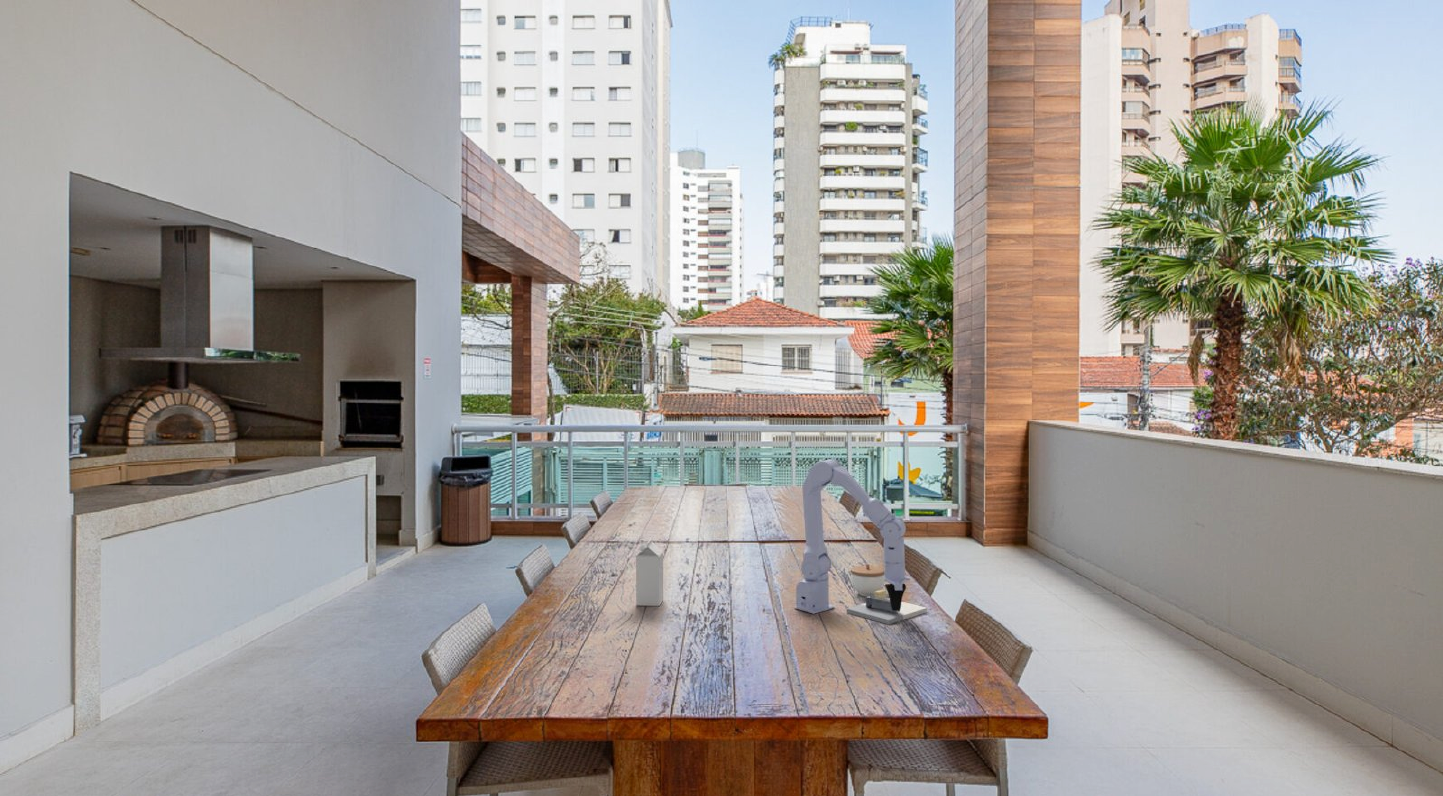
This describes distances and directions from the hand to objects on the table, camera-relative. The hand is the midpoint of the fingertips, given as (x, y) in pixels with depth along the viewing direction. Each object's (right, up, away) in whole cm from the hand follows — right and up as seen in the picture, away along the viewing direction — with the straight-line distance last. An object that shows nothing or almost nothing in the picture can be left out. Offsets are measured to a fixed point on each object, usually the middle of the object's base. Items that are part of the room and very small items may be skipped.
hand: (896, 610), depth 215 cm
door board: (-1, -2, +6) cm, 7 cm away
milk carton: (-71, -3, +17) cm, 73 cm away
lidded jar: (-3, -3, +27) cm, 27 cm away
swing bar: (-3, -1, +5) cm, 5 cm away
